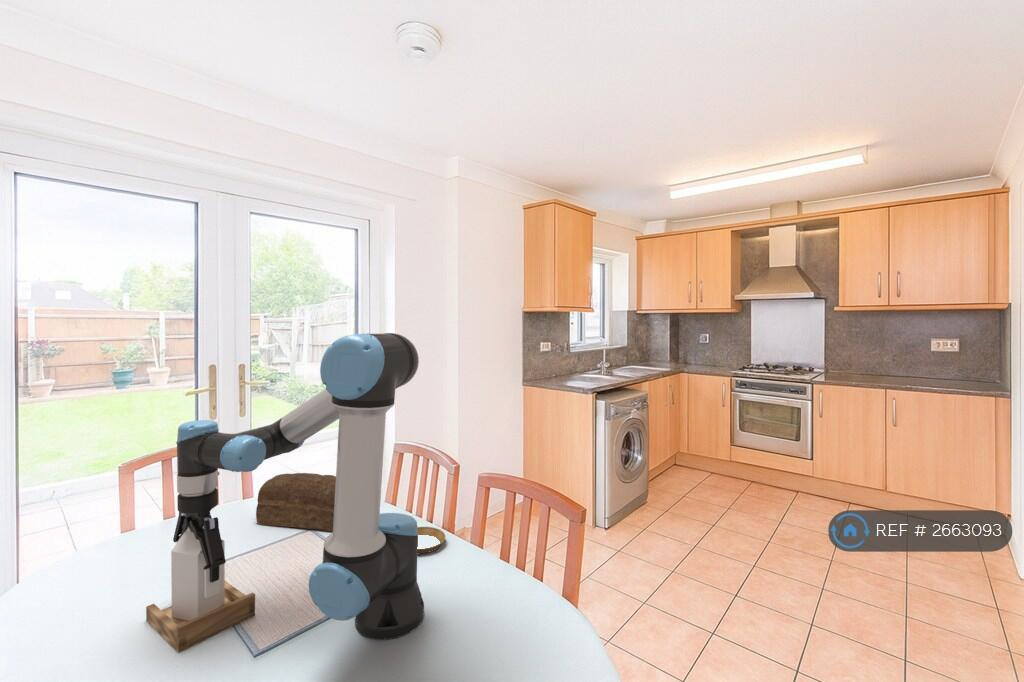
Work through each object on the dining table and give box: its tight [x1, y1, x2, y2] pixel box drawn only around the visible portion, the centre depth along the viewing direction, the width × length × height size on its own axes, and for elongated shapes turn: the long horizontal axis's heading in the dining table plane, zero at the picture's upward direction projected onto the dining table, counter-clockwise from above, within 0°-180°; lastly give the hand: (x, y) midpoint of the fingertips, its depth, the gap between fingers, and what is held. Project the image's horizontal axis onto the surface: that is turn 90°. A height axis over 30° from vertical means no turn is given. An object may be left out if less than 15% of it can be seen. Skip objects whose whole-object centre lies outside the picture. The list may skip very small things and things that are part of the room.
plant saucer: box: [417, 526, 446, 554], centre depth 142 cm, size 15×15×3 cm
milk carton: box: [170, 527, 226, 621], centre depth 105 cm, size 7×7×19 cm
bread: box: [255, 472, 336, 532], centre depth 157 cm, size 15×32×16 cm, turn 80°
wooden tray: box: [145, 580, 256, 654], centre depth 105 cm, size 17×15×5 cm
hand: (198, 584), depth 106 cm, fingers open, 13 cm apart
